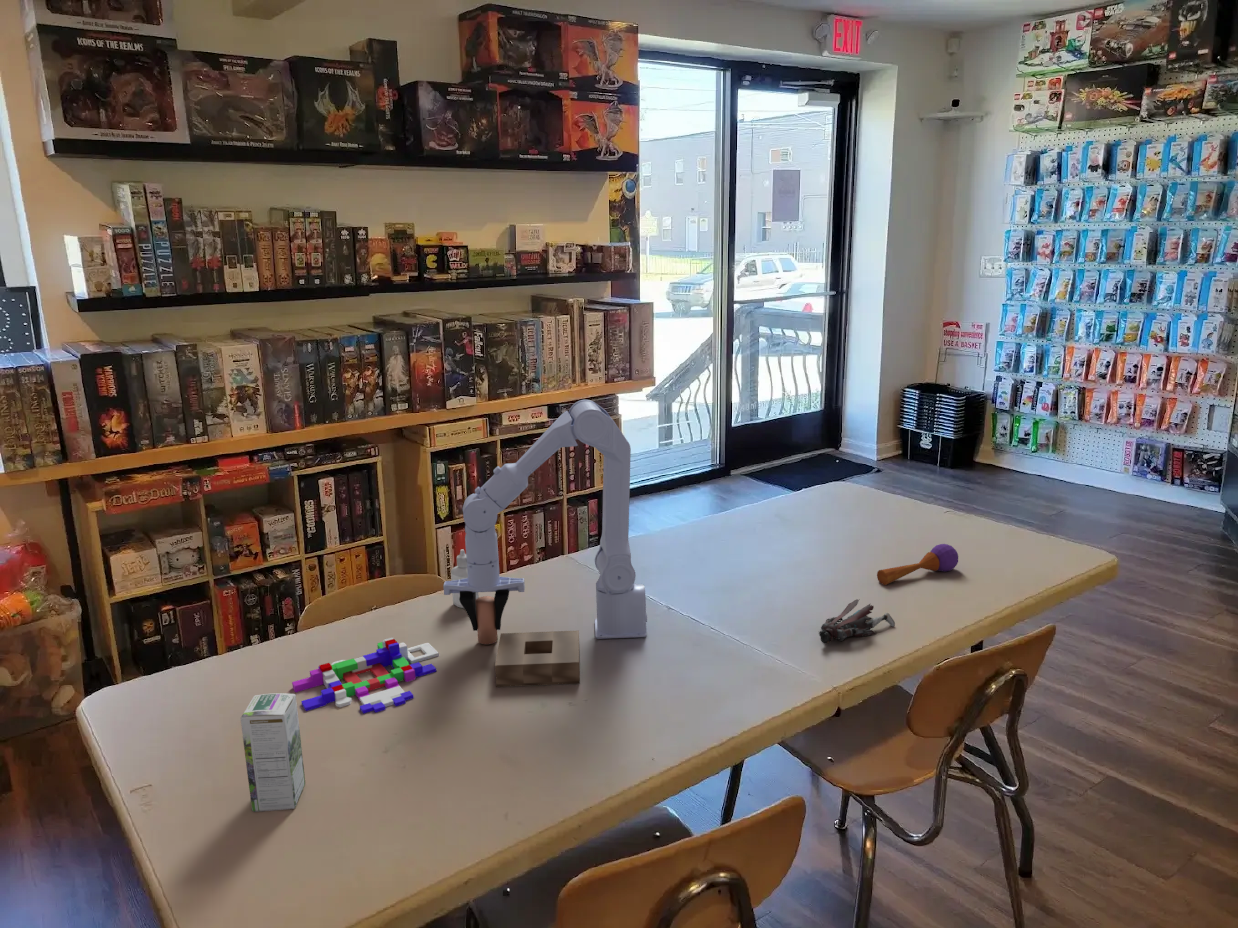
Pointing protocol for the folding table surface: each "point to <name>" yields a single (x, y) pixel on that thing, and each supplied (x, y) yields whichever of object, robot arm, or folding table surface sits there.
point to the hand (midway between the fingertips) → (487, 627)
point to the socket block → (538, 659)
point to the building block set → (373, 662)
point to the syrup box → (273, 752)
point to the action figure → (852, 624)
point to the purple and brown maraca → (923, 564)
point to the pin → (486, 620)
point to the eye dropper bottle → (460, 575)
